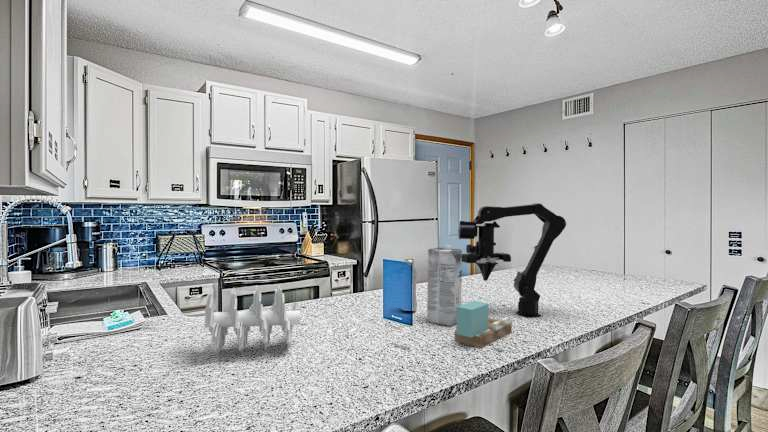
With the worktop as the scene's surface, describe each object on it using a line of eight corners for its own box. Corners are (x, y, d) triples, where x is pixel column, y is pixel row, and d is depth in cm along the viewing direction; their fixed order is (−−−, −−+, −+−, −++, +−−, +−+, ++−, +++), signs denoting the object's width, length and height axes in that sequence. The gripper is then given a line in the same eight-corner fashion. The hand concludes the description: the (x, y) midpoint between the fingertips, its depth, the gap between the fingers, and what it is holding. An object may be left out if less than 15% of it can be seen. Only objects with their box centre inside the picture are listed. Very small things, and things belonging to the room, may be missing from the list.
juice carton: (451, 328, 132) (452, 247, 131) (424, 322, 138) (425, 244, 138) (463, 322, 139) (464, 245, 138) (437, 316, 146) (438, 243, 145)
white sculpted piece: (298, 364, 111) (200, 370, 103) (294, 321, 126) (209, 323, 118) (304, 313, 103) (199, 315, 96) (300, 273, 118) (209, 272, 111)
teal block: (473, 326, 124) (474, 300, 124) (488, 329, 121) (488, 303, 121) (456, 333, 117) (456, 306, 117) (471, 337, 114) (471, 309, 113)
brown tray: (486, 326, 135) (487, 311, 134) (511, 332, 129) (511, 316, 128) (454, 340, 120) (454, 324, 120) (480, 348, 114) (481, 330, 114)
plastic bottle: (397, 312, 150) (397, 259, 150) (404, 308, 156) (405, 257, 156) (412, 314, 147) (413, 261, 147) (419, 310, 153) (420, 259, 153)
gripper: (495, 237, 160) (494, 275, 161) (453, 237, 155) (453, 277, 155) (512, 239, 150) (511, 280, 150) (468, 240, 144) (467, 283, 144)
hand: (485, 280), depth 150 cm, fingers closed
